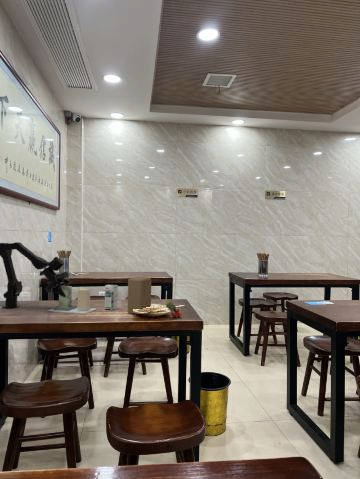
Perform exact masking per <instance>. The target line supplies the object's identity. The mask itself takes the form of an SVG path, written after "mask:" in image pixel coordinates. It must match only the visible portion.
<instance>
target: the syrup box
mask: <svg viewBox="0 0 360 479" xmlns="http://www.w3.org/2000/svg"><path fill="white" fill-rule="evenodd" d="M118 293H119V285H117V284H106V285H105V286H104V310H105V309H110V310H109V311H114V310H113V309H115V310H117V309H118V297H119V296H118V295H119V294H118ZM116 308H117V309H116Z"/></svg>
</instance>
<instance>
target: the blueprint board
mask: <svg viewBox="0 0 360 479" xmlns="http://www.w3.org/2000/svg"><path fill="white" fill-rule="evenodd" d="M90 306H91V289H90V288H80V289H77V305H73V304H72V305H71V307H69V308H59V305H56V306H54V307H52V308H51V309H47V312H51V313H52V312H53V313H64V314H65V313H66V314H76V315H77V314H79V315H80V314H81V315H88V314H89V312H90V313H92V311H93V312H95V311H98V308H94V307H93V308H92V307H90ZM94 310H95V311H94Z"/></svg>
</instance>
